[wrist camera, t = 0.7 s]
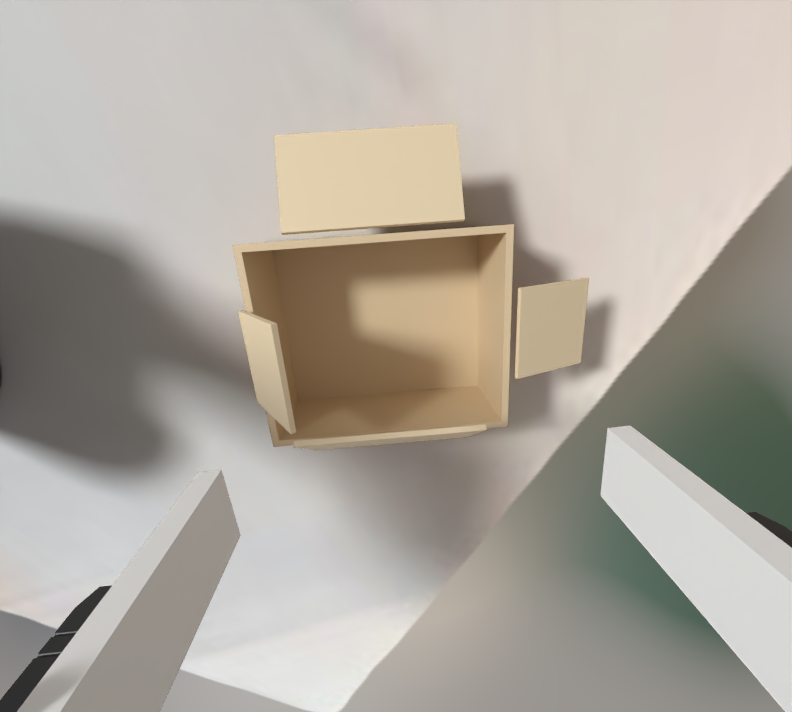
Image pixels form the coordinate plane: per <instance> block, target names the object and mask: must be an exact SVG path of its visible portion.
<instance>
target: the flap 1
mask: <svg viewBox="0 0 792 712" xmlns="http://www.w3.org/2000/svg"><path fill="white" fill-rule="evenodd" d="M238 313H239V318H240V323H241V327H242V332H243V337H244V342H245V346H246V351H247V356H248V360H249V365H250V370H251V375H252V379H253V384H254V389H255V394H256V398H257V402H258V403H259V404H260V405H261V406H262V407H263V408H264V409H265V410H266V411H267V412H268V413H269V414H270V415H271V416H272V417H273V418H275V419H276V420H277V421H278V422H279V423H280V424H281V425H282V426H283V427H284V428H285V429H286V430H287V431H288V432H289V433H290V434H293V433H296V428H295V422H294V417H293V411H292V406H291V400H290V394H289V389H288V383H287V378H286V372H285V366H284V361H283V355H282V350H281V344H280V338H279V333H278V327H277V323H274V322H272V321H269V320H267V319H264V318H262V317H259V316H257V315H254V314H252V313H249V312H247V311H244V310H240V311H238Z"/></svg>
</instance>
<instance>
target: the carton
mask: <svg viewBox="0 0 792 712" xmlns="http://www.w3.org/2000/svg"><path fill="white" fill-rule="evenodd" d="M513 243H514V224H509V225H495V226H482V227H468V228H455V229H441V230H428V231H414V232H400V233H387V234H373V235H360V236H346V237H332V238H319V239H305V240H292V241H278V242H265V243H251V244H237V245H232V247H233V252H234V257H235V262H236V266H237V271H238V276H239V281H240V286H241V291H242V296H243V301H244V306H245V310H246V311H247V312H249V313H252V314H254V315H257V316H259V317H262V318H264V319H267V320H269V321H272V322H274V323H277V327H278V333H279V338H280V344H281V350H282V355H283V361H284V366H285V372H286V378H287V383H288V389H289V394H290V400H291V406H292V411H293V417H294V422H295V428H296V433H293V434H290V433H289V432H288V431H287V430H286V429H285V428H284V427H283V426H282V425H281V424H280V423H279V422H278V421H277V420H276V419H275V418H273V417H272V416H271V415H270V414H269V413H268V412H267V411H266V413H267V418H268V423H269V428H270V433H271V437H272V442H273V447H277V446H289V445H294V441H301V440H313V439H324V438H336V437H347V436H359V435H371V434H382V433H394V432H405V431H417V430H429V429H440V428H452V427H463V426H475V425H486V428H497V427H508V399H509V368H510V336H511V305H512V274H513Z"/></svg>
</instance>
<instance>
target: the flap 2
mask: <svg viewBox="0 0 792 712" xmlns="http://www.w3.org/2000/svg"><path fill="white" fill-rule="evenodd" d="M274 144H275V157H276V171H277V184H278V197H279V211H280V224H281V233H282V234H283V235H286V234H299V233H313V232H327V231H340V230H354V229H368V228H381V227H395V226H409V225H422V224H436V223H450V222H463V221H464V220H465V214H464V203H463V191H462V180H461V168H460V157H459V145H458V134H457V123H451V124H436V125H421V126H407V127H392V128H377V129H362V130H347V131H332V132H317V133H302V134H287V135H274Z"/></svg>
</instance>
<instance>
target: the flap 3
mask: <svg viewBox="0 0 792 712" xmlns="http://www.w3.org/2000/svg"><path fill="white" fill-rule="evenodd" d="M486 430H487V429H486V425H475V426H463V427H452V428H440V429H429V430H417V431H405V432H394V433H382V434H371V435H359V436H347V437H336V438H324V439H313V440H301V441H294V447H298V448H304V449H310V450H326V449H337V448H349V447H360V446H372V445H383V444H395V443H406V442H418V441H430V440H441V439H453V438H464V437H469V436H472V435H475V434H477V433H480V432H483V431H486Z"/></svg>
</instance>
